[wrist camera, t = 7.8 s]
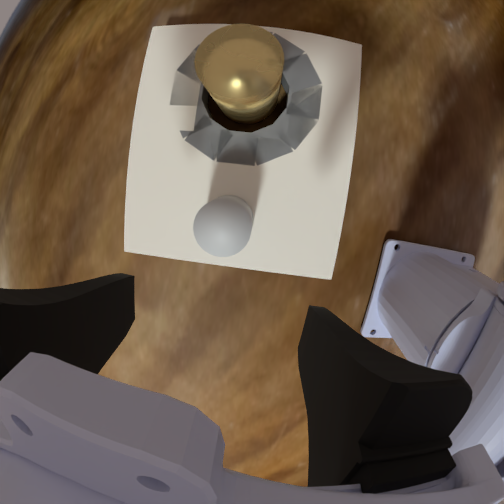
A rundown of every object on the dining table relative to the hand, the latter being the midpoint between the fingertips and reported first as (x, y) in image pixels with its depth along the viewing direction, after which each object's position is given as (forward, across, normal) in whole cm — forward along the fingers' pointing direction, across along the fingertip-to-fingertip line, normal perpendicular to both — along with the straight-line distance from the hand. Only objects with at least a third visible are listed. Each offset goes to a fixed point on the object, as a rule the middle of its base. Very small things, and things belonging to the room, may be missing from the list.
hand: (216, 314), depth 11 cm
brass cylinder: (+9, +1, -11) cm, 14 cm away
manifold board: (+9, +1, -8) cm, 12 cm away
